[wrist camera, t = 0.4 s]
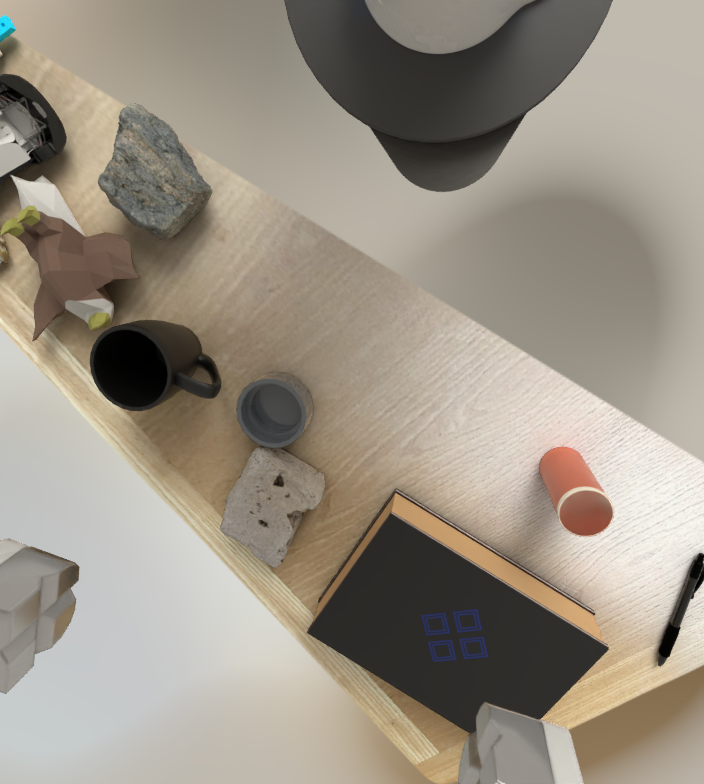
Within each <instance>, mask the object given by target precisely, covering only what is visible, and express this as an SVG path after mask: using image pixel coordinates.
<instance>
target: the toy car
mask: <svg viewBox="0 0 704 784" xmlns="http://www.w3.org/2000/svg"><path fill="white" fill-rule="evenodd" d="M65 143H66V133H65V130H64V127H63V124H62V122H61V120H60V119H59V117H58V116H57V114H56V113H55V111H54V110H53V108H52V107H51V106H50V104H49V103H48V102H47V100H46V99H45V98H44V97H43V96H42V94H41V93H40V92H39V91H38V90H37V89H36V88H35V87H34V86H33V85H32V84H30V83H29V82H28V81H26V80H25V79H23V78H21V77H20V76H16V75H12V74H3V75H0V184H1V183H3V182H4V181H5V180H6V179H8V178H9V177H11V175H14V174H16V173H17V172H19V171H21V170H22V169H24V168H26V167H28V166H30V165H35V164H40V163H41V162H44V161H46V160H48V159H50V158H51V157H53V156H54V155H56V154H58V153H59V152H60V151H61V150H62V149H63V148H64V146H65Z"/></svg>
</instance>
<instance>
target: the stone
mask: <svg viewBox="0 0 704 784" xmlns="http://www.w3.org/2000/svg"><path fill="white" fill-rule="evenodd" d="M324 488H325V480H324V474H322V473H320V472H318V473H317V471H316V469H314V468H313V467H311V466H309V465H308V464H306V463H305V462H303V461H301V460H300V459H298V458H296V457H294V456H293V455H291V454H290V453H288V452H286V451H284V450H282V449H281V448H269V447H265V446H260V447H258V448H256V449H255V450H254V451H253V453H252V455H251V456H250V458H249V460H248V462H247V464H246V466H245V467H244V469H243V471H242V474H241V476H240V477H239V478H238V480H237V482H236V484H235V485H234V487H233V488H232V489H231V491H230V492H229V494H228V496H227V499H226V501H225V502H226V507H225V512H224V514H223V521H222V524H221V526H220V529H221V531H222V532H223V533H224V535H227V536H229V537H231V538H234V539H235V540H237V541H239V542H240V543H241V544H243V545H245V546H249V547H250V549H251V551H252V553H253V555H254V556H256V557H257V558H259V559H260V560H262V561H264V562H266V563H267V564H268V565H270V566H272V567H274V568H276V567H277V566H279V565H281V564H282V562H283V560H284V558H285V556H286V554H287V551H288V548H289V547H290V546H291V543H292V539H293V536H294V534H295V533H296V531H297V528H298V527H299V525H300V522H301V518H302V516H304V514H305V512H306V510H308V509H310V510H313V509H314V508H315V507H316V506H317V505H318V504H319V503H320V501H321V499H322V497H323V491H324Z"/></svg>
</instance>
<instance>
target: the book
mask: <svg viewBox="0 0 704 784" xmlns="http://www.w3.org/2000/svg"><path fill="white" fill-rule="evenodd" d="M318 602H319V605H318V608H317V611H316V614H315V616H314V619H313V622H312V624H311V626H310V627H309V629H308V631H307V633H308V634H310V635H311V636H313V637H315V638H316V639H318V640H319V641H321V642H323V643H324V644H326V645H327V646H329V647H331V648H332V649H334V650H336V651H337V652H339V653H340V654H342V655H344V656H345V657H347V658H348V659H350V660H352V661H353V662H355V663H357V664H358V665H360V666H361V667H363V668H365V669H366V670H368V671H370V672H371V673H373V674H374V675H376V676H378V677H379V678H381V679H382V680H384V681H386V682H387V683H389V684H391V685H392V686H394V687H395V688H397V689H399V690H400V691H402V692H403V693H405V694H407V695H408V696H410V697H412V698H413V699H415V700H416V701H418V702H420V703H421V704H423V705H425V706H426V707H428V708H429V709H431V710H433V711H434V712H436V713H437V714H439V715H441V716H442V717H444V718H446V719H447V720H449V721H450V722H452V723H454V724H455V725H457V726H458V727H460V728H462V729H463V730H465V731H467V732H468V733H470V734H471V733H473V732H475V731H477V728H476V716H477V713H478V711H479V709H480V706H481V705H482V704H483V703H484V702H488V703H491V704H494V705H497V706H500V707H503V708H506V709H509V710H512V711H515V712H518V713H521V714H524V715H527V716H530V717H533V718H536V719H537V720H538V719H541V718H542V717H543V716H544V715H545V714H546V713H547V712H548V711H549V710H550V709H551V708H552V707H553V706H554V705H555V704H556V703H557V702H558V701H559V700H560V699H561V698H562V697H563V696H564V695H565V693H566V692H567V691H568V690H569V689H570V688H571V687H572V686H573V685H574V684H575V683H576V682H577V681H578V680H579V679H580V678H581V677H582V676H583V675H584V674H585V673H586V672H587V671H588V670H589V669H590V668H591V667H592V666H593V665H594V664H595V663H596V662H597V661H598V660H599V659H600V658H601V657H602V656H603V655H604V654H605V653H606V652H607V651H608V650H609V649H608V648H609V647H608V646H607V644H606V643H604V641H603V639H602V636H601V633H600V631H599V628H598V626H597V623H596V621H595V618H594V615H595V613H594V610H592V609H591V608H589V607H587V606H586V605H584V604H582V603H581V602H579V601H578V600H576V599H574V598H573V597H571V596H570V595H568V594H566V593H565V592H563V591H561V590H560V589H558V588H557V587H555V586H553V585H552V584H550V583H548V582H547V581H545V580H544V579H542V578H540V577H539V576H537V575H536V574H534V573H532V572H531V571H529V570H527V569H526V568H524V567H523V566H521V565H519V564H518V563H516V562H514V561H513V560H511V559H510V558H508V557H506V556H505V555H503V554H502V553H500V552H498V551H497V550H495V549H493V548H492V547H490V546H489V545H487V544H485V543H484V542H482V541H480V540H479V539H477V538H476V537H474V536H472V535H471V534H469V533H467V532H466V531H464V530H463V529H461V528H459V527H458V526H456V525H455V524H453V523H451V522H450V521H448V520H446V519H445V518H443V517H442V516H440V515H438V514H437V513H435V512H433V511H432V510H430V509H429V508H427V507H425V506H424V505H422V504H421V503H419V502H417V501H416V500H414V499H412V498H411V497H409V496H408V495H406V494H404V493H403V492H401V491H399V490H398V489H395V490H394V492H393V493H392V495H391V496H390V498H389V499H388V500H387V502H386V503H385V505H384V506H383V508H382V509H381V510H380V512H379V513H378V515H377V516H376V518H375V519H374V521H373V522H372V523H371V525H370V526H369V528H368V529H367V531H366V532H365V533H364V535H363V536H362V538H361V539H360V541H359V542H358V544H357V545H356V546H355V548H354V549H353V551H352V552H351V554H350V555H349V556H348V558H347V559H346V561H345V562H344V564H343V565H342V567H341V568H340V569H339V571H338V572H337V574H336V575H335V577H334V578H333V579H332V581H331V582H330V584H329V585H328V587H327V588H326V590H325V591H324V592H323V594H322V595H321V597H320V598H319V601H318Z"/></svg>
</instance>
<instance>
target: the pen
mask: <svg viewBox="0 0 704 784" xmlns="http://www.w3.org/2000/svg"><path fill="white" fill-rule="evenodd" d="M703 561H704V554H703V553H699V554H698V556H697V559H696V560H694V561H693V564H692V566H691V568H690V571H689V574H688V578H687V580H686V583H685V586H684V588H683V591H682V593H681V596H680V599H679V601H678V604H677V607H676V609H675V612H674V614H673V617H672V620H671V622H669V625H668V627H667V629H666V631H665V634H664V637H663V640H662V643H661V646H660V648H659V656H658V665H659V666H662V665H663V664H664V663H665V661H666V659H667V658H668V657H669V656H670V653H671V651H672V648H673V646H674V644H675V641H676V639H677V637H678V634H679V630H680V625H681V622H682V620H683V617H684V615H685V612H686V610H687V607H688V604H689V602H690V599H693V598H694V593H695V592H696V591H697V590H698V589H699V587H700V586H701V584H702V582H703V581H704V563H703Z"/></svg>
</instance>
